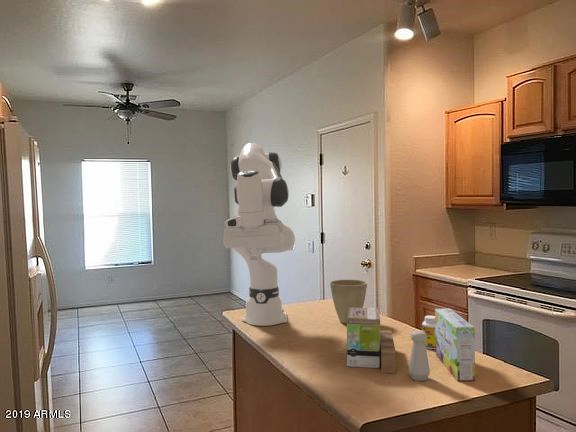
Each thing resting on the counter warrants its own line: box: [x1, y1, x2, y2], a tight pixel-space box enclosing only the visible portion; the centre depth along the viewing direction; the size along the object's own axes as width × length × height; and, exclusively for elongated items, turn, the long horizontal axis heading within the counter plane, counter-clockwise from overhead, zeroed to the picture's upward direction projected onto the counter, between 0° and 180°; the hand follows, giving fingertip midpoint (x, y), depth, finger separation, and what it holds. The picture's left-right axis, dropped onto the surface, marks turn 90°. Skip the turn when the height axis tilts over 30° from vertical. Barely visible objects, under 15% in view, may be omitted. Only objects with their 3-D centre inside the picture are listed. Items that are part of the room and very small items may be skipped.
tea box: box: [346, 307, 381, 369], centre depth 145 cm, size 15×10×15 cm
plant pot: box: [329, 279, 368, 325], centre depth 190 cm, size 15×15×16 cm
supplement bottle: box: [421, 315, 436, 350], centre depth 156 cm, size 6×6×10 cm
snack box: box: [434, 308, 476, 382], centre depth 137 cm, size 21×6×15 cm, turn 178°
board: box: [380, 329, 397, 374], centre depth 144 cm, size 22×4×6 cm, turn 171°
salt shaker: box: [407, 330, 431, 382], centre depth 129 cm, size 6×6×13 cm
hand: (254, 260), depth 157 cm, fingers closed
